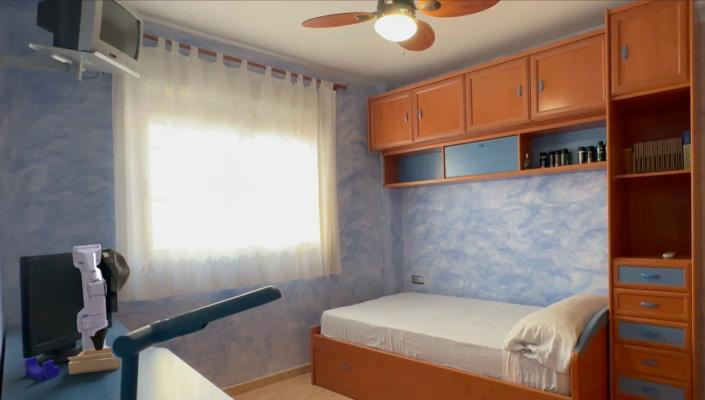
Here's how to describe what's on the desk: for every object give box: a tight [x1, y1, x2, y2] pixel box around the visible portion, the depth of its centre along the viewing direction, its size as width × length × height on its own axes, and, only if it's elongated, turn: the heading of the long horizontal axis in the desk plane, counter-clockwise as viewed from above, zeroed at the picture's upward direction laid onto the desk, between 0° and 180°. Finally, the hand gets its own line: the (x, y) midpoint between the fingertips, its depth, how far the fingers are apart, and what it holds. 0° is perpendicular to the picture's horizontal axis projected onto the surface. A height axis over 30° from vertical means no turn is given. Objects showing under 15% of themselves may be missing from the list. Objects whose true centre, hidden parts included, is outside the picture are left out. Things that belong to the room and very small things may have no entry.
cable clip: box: [24, 356, 60, 381], centre depth 154 cm, size 12×4×6 cm, turn 65°
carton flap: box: [67, 352, 114, 362], centre depth 153 cm, size 4×14×1 cm
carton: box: [67, 346, 121, 375], centre depth 162 cm, size 14×17×4 cm
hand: (99, 349), depth 161 cm, fingers closed
